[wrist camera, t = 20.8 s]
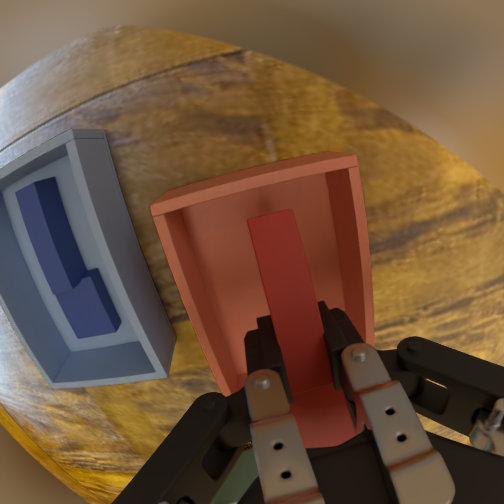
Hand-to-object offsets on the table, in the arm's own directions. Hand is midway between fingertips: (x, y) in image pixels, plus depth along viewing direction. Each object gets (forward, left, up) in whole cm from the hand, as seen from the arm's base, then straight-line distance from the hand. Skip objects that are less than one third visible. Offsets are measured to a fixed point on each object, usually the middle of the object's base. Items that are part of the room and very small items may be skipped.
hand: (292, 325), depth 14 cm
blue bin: (-4, -13, -7) cm, 15 cm away
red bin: (+1, 0, -7) cm, 7 cm away
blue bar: (-5, -13, -6) cm, 15 cm away
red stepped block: (+1, 0, 0) cm, 1 cm away
